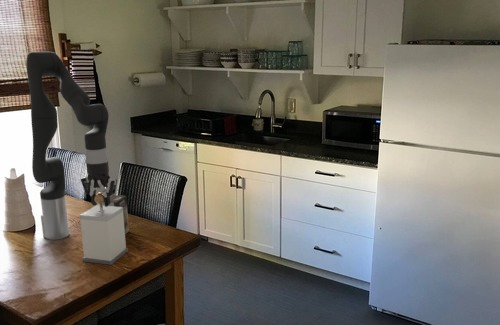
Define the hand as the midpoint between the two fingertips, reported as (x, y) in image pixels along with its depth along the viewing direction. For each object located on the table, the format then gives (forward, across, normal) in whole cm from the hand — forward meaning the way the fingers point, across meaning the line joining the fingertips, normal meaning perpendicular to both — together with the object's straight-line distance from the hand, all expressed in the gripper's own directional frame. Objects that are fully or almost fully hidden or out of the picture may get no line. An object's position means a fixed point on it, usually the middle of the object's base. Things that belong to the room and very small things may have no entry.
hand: (101, 205), depth 172 cm
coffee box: (+20, -6, +19) cm, 29 cm away
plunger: (+15, 0, 0) cm, 15 cm away
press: (+20, 0, +1) cm, 20 cm away
